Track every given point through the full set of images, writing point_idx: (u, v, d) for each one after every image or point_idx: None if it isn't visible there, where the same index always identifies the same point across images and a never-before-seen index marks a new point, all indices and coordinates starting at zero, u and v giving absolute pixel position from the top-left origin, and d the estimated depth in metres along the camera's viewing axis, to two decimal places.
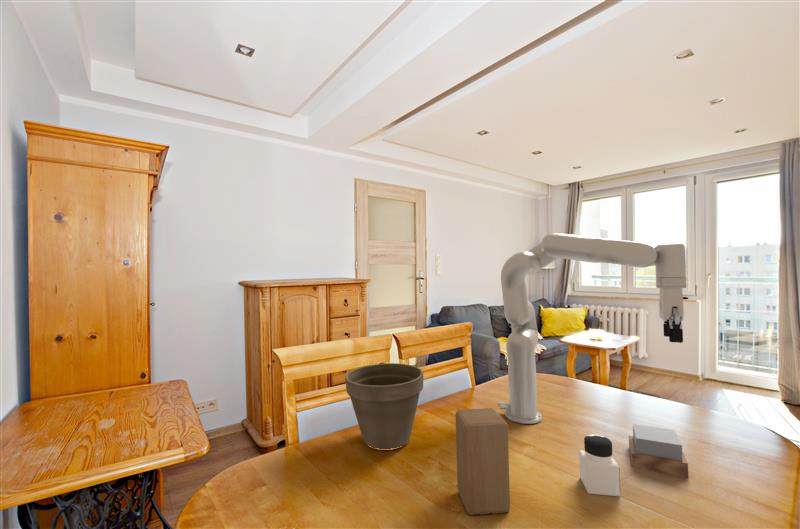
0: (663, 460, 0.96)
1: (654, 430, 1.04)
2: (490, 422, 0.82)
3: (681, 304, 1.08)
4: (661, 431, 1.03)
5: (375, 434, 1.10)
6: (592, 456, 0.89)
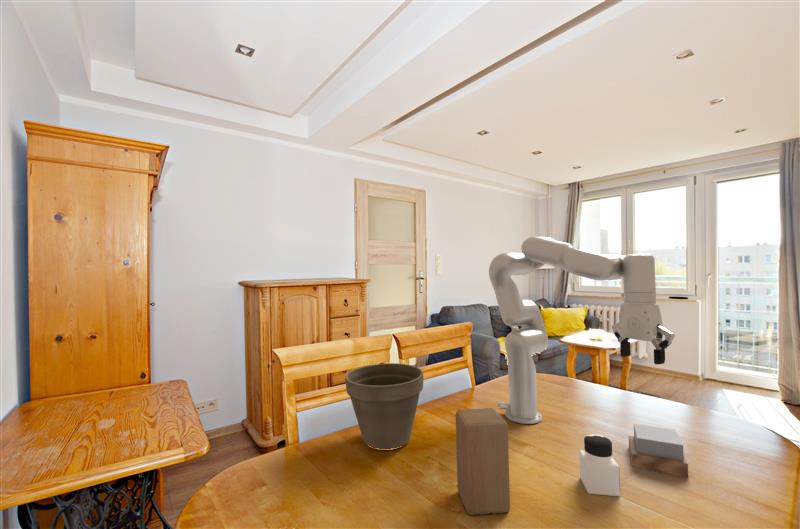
0: (663, 460, 0.96)
1: (654, 429, 1.04)
2: (490, 422, 0.82)
3: (661, 321, 0.99)
4: (662, 430, 1.03)
5: (375, 434, 1.10)
6: (592, 456, 0.89)
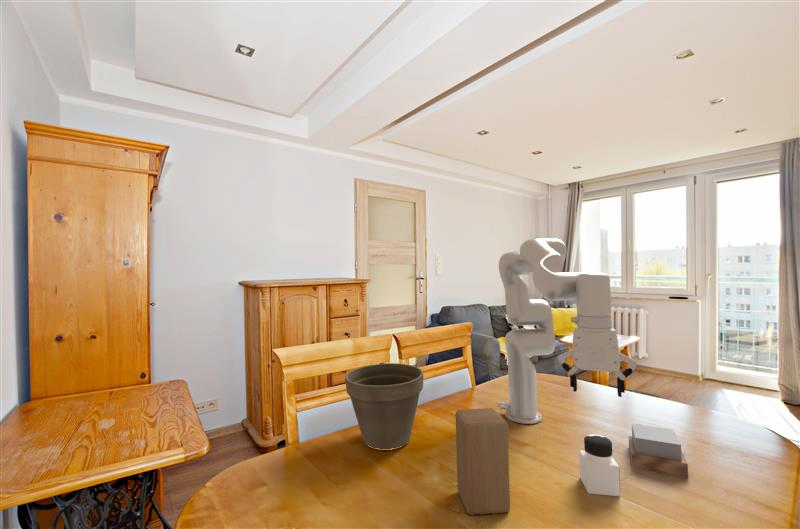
0: (663, 460, 0.96)
1: (652, 429, 1.04)
2: (490, 422, 0.82)
3: None
4: (660, 430, 1.04)
5: (375, 434, 1.10)
6: (592, 456, 0.89)
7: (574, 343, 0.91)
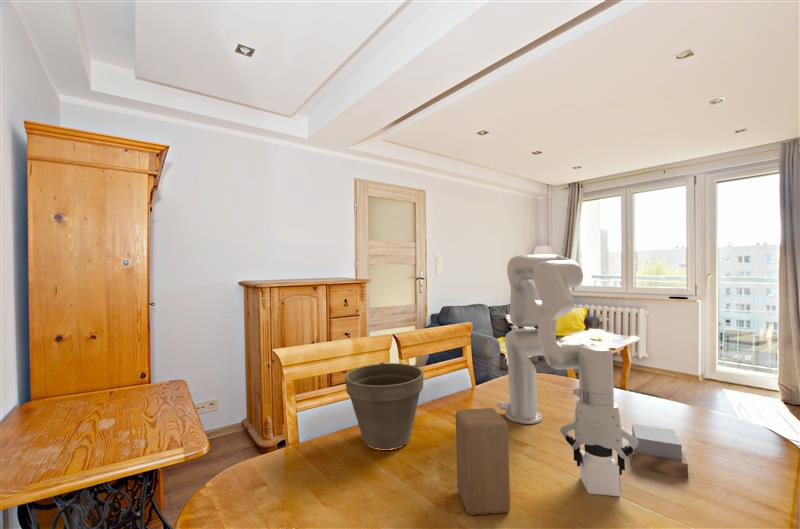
0: (663, 461, 0.96)
1: (653, 429, 1.04)
2: (490, 422, 0.82)
3: None
4: (660, 430, 1.03)
5: (375, 434, 1.10)
6: (592, 456, 0.89)
7: (576, 417, 0.91)
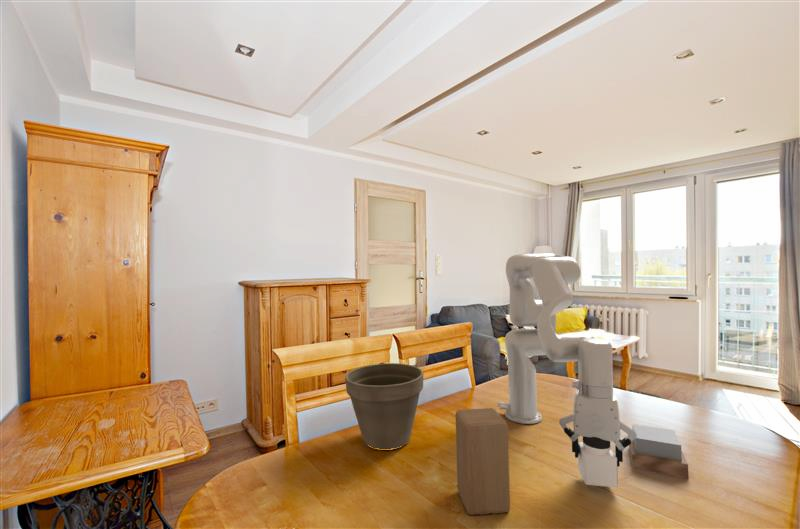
0: (663, 461, 0.96)
1: (653, 430, 1.04)
2: (490, 422, 0.82)
3: None
4: (661, 431, 1.03)
5: (375, 434, 1.10)
6: (590, 448, 0.89)
7: (575, 409, 0.91)
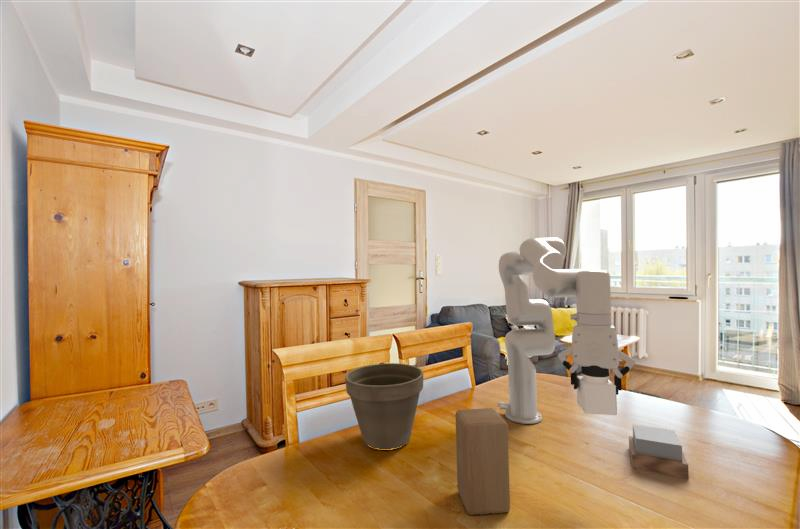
0: (663, 461, 0.95)
1: (653, 430, 1.04)
2: (490, 422, 0.82)
3: None
4: (661, 431, 1.03)
5: (375, 434, 1.10)
6: (589, 377, 0.89)
7: (573, 340, 0.91)
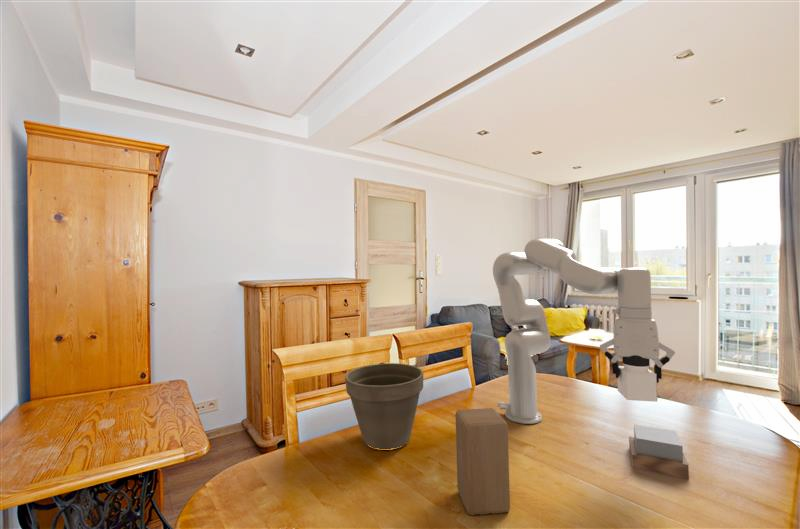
0: (663, 461, 0.95)
1: (655, 430, 1.04)
2: (490, 422, 0.82)
3: None
4: (662, 431, 1.03)
5: (375, 434, 1.10)
6: (631, 366, 0.97)
7: (615, 332, 0.99)
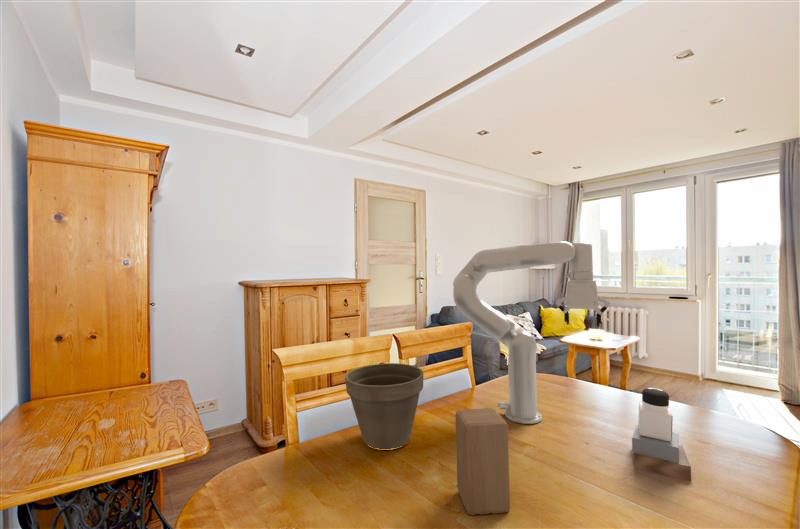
0: (665, 462, 0.95)
1: None
2: (490, 422, 0.82)
3: None
4: None
5: (375, 434, 1.10)
6: (647, 404, 1.00)
7: (567, 291, 1.32)
